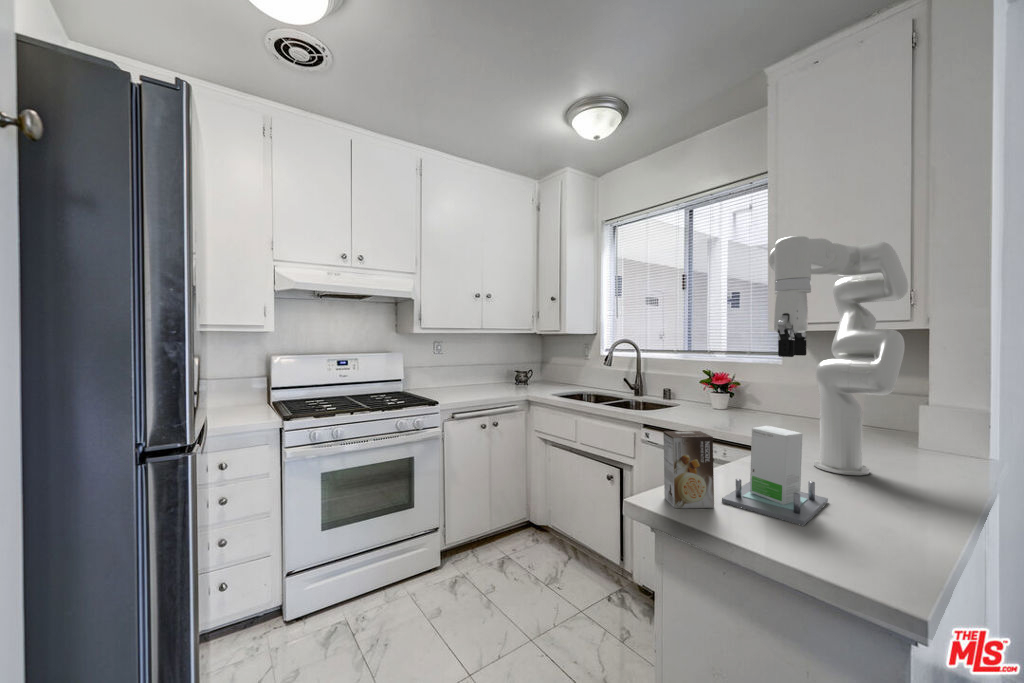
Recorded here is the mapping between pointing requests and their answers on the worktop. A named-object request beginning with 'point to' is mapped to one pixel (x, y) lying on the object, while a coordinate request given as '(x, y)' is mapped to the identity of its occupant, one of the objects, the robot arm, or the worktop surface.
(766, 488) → the skincare box
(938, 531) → the worktop surface
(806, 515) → the grey base plate
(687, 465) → the coffee box
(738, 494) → the guide pins
